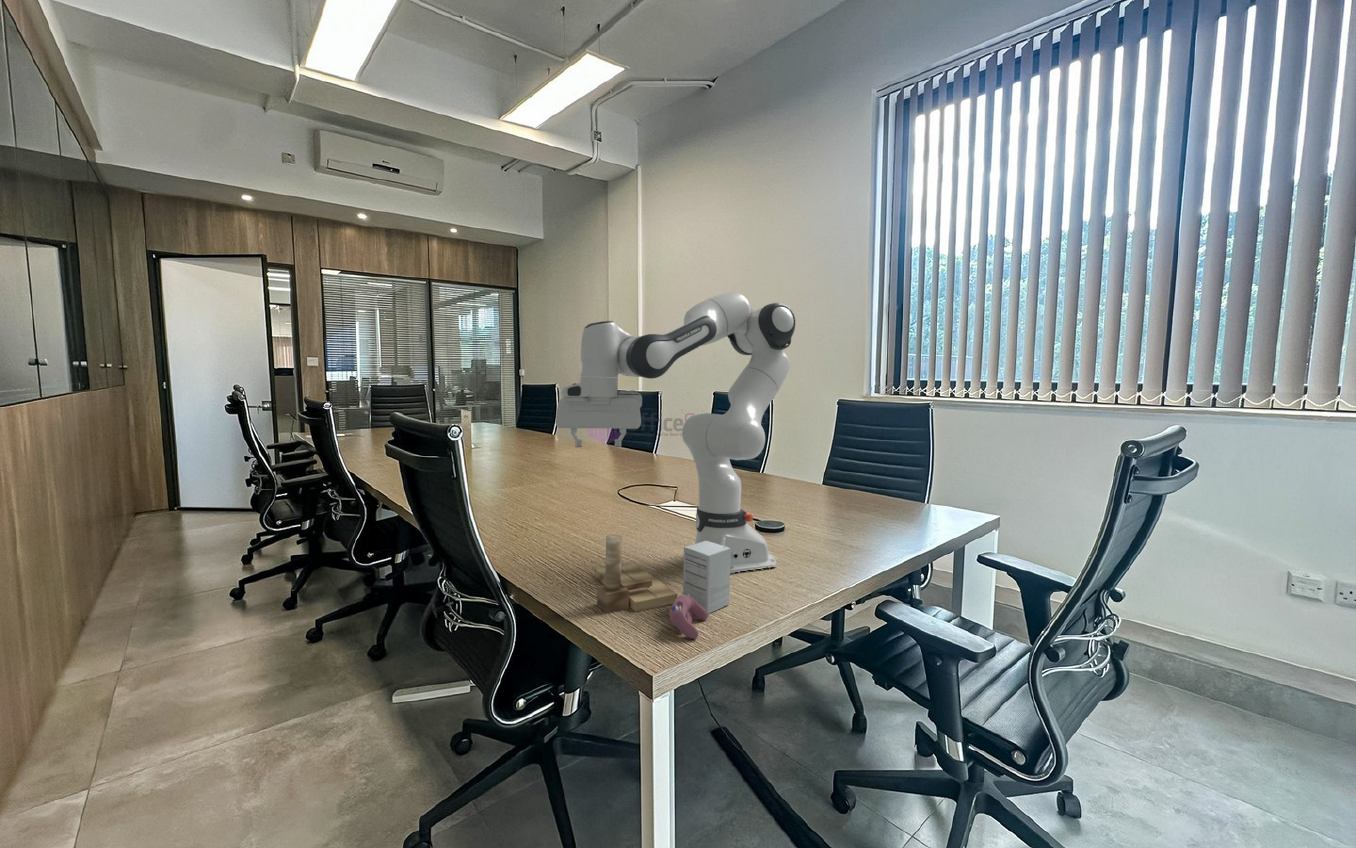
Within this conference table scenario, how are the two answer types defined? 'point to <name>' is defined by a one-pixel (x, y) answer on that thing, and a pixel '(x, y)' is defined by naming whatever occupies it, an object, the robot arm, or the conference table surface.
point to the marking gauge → (616, 580)
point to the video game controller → (686, 615)
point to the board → (642, 596)
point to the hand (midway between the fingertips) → (598, 447)
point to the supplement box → (707, 574)
